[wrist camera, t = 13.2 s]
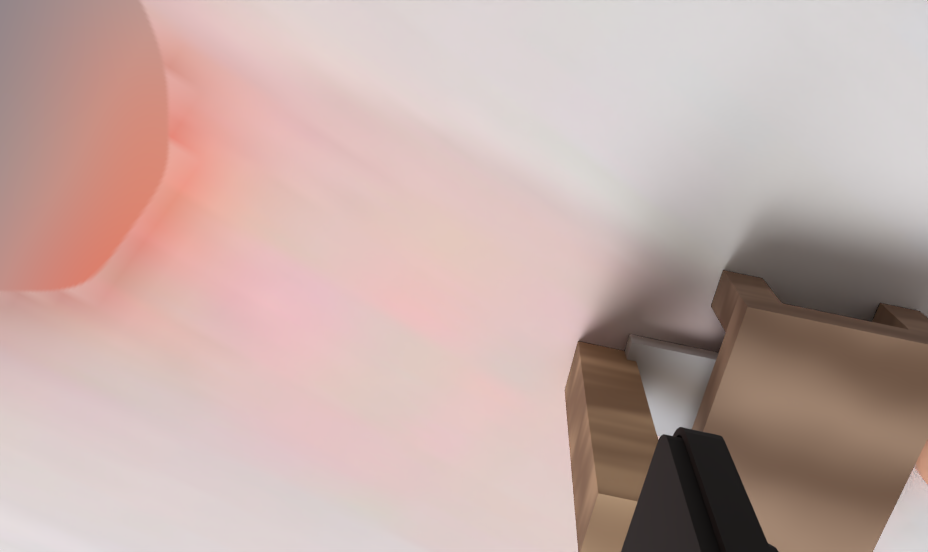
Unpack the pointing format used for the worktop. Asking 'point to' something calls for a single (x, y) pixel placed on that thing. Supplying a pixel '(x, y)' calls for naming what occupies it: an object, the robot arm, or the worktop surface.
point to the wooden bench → (817, 413)
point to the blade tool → (625, 426)
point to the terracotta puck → (923, 463)
